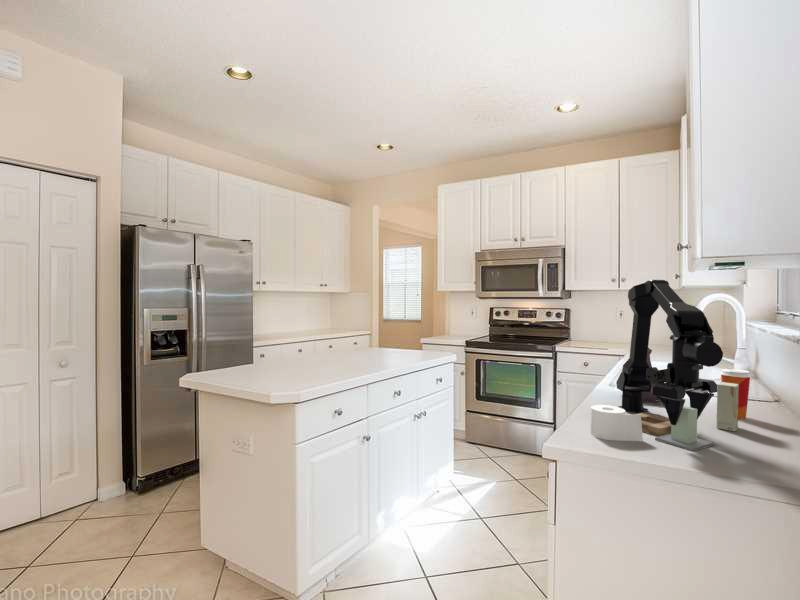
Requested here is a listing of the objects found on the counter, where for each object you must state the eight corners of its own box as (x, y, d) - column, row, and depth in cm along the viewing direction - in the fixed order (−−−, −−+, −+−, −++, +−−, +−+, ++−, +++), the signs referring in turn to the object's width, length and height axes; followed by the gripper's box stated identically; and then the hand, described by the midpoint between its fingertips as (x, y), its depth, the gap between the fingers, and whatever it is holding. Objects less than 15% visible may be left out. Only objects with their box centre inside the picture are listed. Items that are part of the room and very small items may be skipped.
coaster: (675, 434, 118) (675, 432, 118) (713, 445, 110) (713, 442, 110) (655, 439, 114) (655, 437, 114) (692, 451, 106) (692, 448, 106)
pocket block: (643, 419, 132) (643, 412, 132) (684, 430, 122) (684, 422, 122) (618, 424, 127) (618, 417, 126) (659, 436, 116) (659, 428, 116)
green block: (679, 436, 115) (680, 405, 114) (696, 441, 111) (697, 408, 111) (670, 438, 113) (671, 407, 112) (687, 443, 109) (688, 410, 109)
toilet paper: (643, 441, 112) (643, 413, 112) (597, 440, 113) (597, 412, 113) (628, 431, 121) (628, 405, 121) (585, 430, 121) (586, 404, 121)
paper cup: (714, 412, 141) (715, 367, 141) (741, 413, 139) (742, 369, 139) (726, 419, 133) (727, 372, 133) (756, 421, 132) (757, 373, 132)
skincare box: (735, 432, 121) (736, 386, 121) (715, 428, 124) (717, 384, 124) (738, 426, 126) (739, 383, 125) (719, 423, 129) (720, 381, 128)
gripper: (674, 353, 123) (672, 410, 123) (631, 357, 114) (630, 419, 114) (719, 359, 113) (717, 420, 114) (676, 364, 104) (675, 431, 105)
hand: (684, 422), depth 112 cm, fingers open, 9 cm apart
